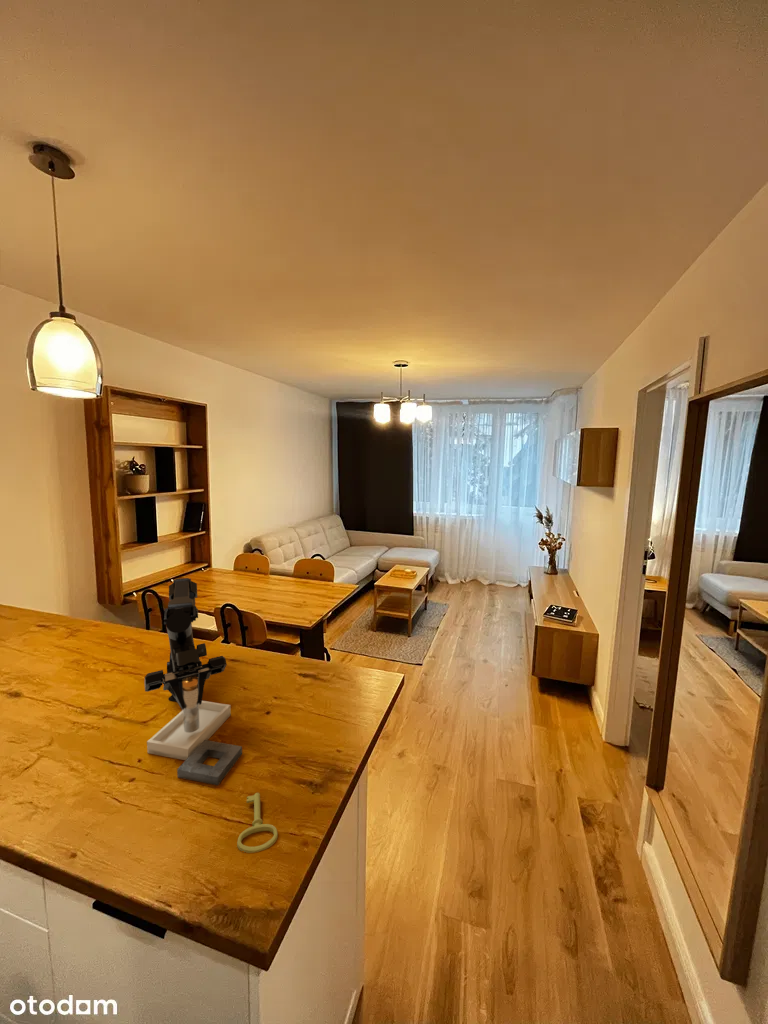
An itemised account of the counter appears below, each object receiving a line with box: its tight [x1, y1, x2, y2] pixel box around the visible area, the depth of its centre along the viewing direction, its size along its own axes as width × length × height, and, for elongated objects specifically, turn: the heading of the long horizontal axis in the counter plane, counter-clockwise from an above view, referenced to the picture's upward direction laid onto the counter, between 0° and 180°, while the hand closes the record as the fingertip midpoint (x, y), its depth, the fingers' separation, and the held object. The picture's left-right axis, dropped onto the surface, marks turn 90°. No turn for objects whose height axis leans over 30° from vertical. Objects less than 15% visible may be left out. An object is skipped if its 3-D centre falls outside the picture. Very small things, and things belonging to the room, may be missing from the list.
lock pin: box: [182, 676, 200, 733], centre depth 105 cm, size 4×4×13 cm
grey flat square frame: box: [176, 739, 243, 786], centre depth 98 cm, size 10×10×2 cm
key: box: [236, 792, 279, 854], centre depth 82 cm, size 7×12×2 cm, turn 36°
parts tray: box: [146, 700, 232, 761], centre depth 109 cm, size 11×18×3 cm, turn 168°
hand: (191, 706), depth 104 cm, fingers closed on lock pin, 4 cm apart
